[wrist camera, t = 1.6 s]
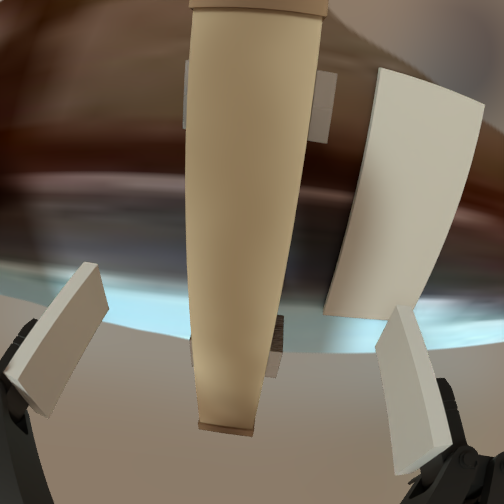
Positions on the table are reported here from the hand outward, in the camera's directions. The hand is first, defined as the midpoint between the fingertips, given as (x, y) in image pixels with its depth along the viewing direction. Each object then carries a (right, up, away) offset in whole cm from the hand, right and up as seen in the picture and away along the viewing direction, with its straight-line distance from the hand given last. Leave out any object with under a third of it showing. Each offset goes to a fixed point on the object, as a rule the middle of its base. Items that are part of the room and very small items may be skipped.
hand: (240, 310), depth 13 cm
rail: (0, +3, +5) cm, 6 cm away
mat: (+14, +6, +12) cm, 19 cm away
